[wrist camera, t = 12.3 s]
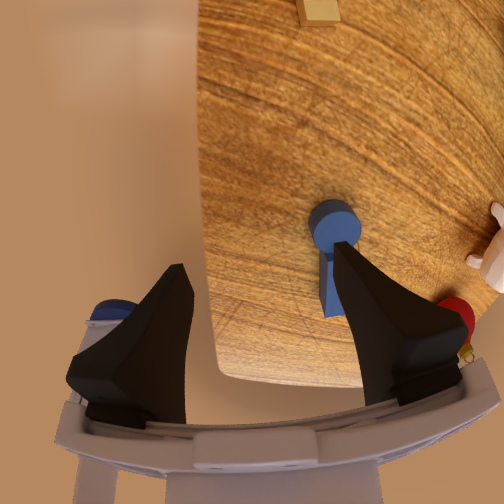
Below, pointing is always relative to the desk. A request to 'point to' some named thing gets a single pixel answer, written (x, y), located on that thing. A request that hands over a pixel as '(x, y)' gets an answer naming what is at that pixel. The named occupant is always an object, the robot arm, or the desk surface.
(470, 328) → the christmas ornament
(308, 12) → the block
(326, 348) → the desk surface
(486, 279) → the white animal figurine
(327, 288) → the blue long-handled part
